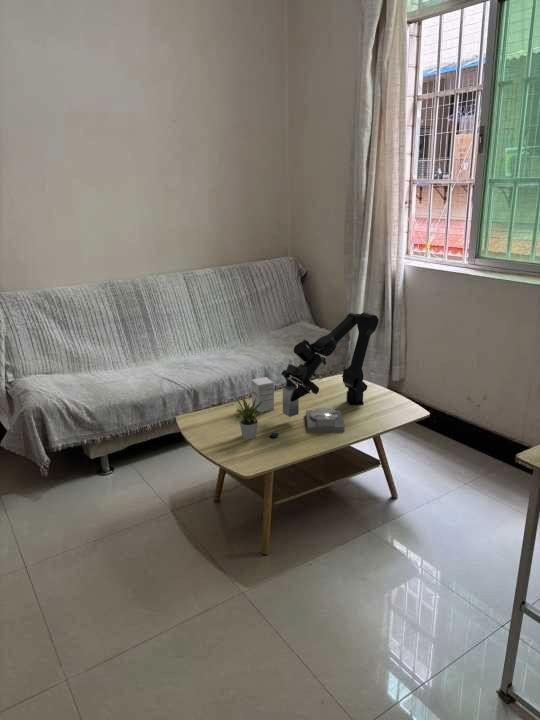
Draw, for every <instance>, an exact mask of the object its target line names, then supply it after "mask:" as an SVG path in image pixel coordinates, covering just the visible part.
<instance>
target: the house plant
mask: <svg viewBox="0 0 540 720" xmlns="http://www.w3.org/2000/svg"><path fill="white" fill-rule="evenodd" d="M232 398H233V399H235V400H236V401H237V403H238V405H237V404H233V403H231V404H230V406H236V407H237V409H236V410H235V412H236V413H238V414H240V415H237V414H235V416H236V417H235V420H238V419H240V420H239V425H240V431H241V435H242V438H243V439H245V440H252V439H255V438H256V437H257V430H258V426H259V425H258V424H259V420H258V419H257V417H258V416H259V415H261V414H262V412H261V411H257V410H256V409H257V408H258V407H259V406H260V404H261V403H262V402H264V401H265V400H264V401H262V402H260V403H259V404H258V405H257V406H256V407H255V408H254V405H255V401H256V398H255V401H254V403H253V406H252V405H251V406H250V404H251V403H247V401H246V400H245V398H244V397H243V396H241V399H242V402H243V406H244V407H243V406H242V404H241V402H240V400H239V399H238V398H236V397H234V396H232ZM250 398H251V399H252V396H250V397H249V400H248V401H251V399H250ZM259 412H260V413H259ZM242 417H243V418H242Z"/></svg>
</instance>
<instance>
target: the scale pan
mask: <svg viewBox="0 0 540 720" xmlns="http://www.w3.org/2000/svg"><path fill="white" fill-rule="evenodd" d="M335 410H336V409H334V408H333V409H332V408H329V407H318V408H314V409H312V411H311V418H312V419H313V420H315V421H317V416H335V420H336V419H337V418H338V412H337V411H335Z"/></svg>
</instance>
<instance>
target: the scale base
mask: <svg viewBox="0 0 540 720" xmlns="http://www.w3.org/2000/svg"><path fill="white" fill-rule="evenodd" d="M312 410H313V409H312ZM312 410H309V409H306V410H305V417H306V425H307V426H306V427H307V433H344V432H345V424H344V420H343V416H342V412H341V410H340V409H337V410H336V409H334V410H335V411H337V412H338V418H337V419H336V420H335V416H317V421H315V420H313V419H312V418H311V411H312Z"/></svg>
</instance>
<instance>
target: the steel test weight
mask: <svg viewBox="0 0 540 720" xmlns="http://www.w3.org/2000/svg"><path fill="white" fill-rule="evenodd" d="M297 388H298V387H297ZM297 388H296V387H294V386H292V385H291V386H287V387H286V386H283V387H282V414H284V415H285V416H287V417H288V418H289V417H290V418H291V417H294V416H298V415H300V414H299V409H300V407H299V405H300V403H299V402H300V401H299V399H300V398H299V399H297V400H295V401H293V402H292V401H291V398H292V397H293V395H294V393H295V392H296V390H297Z"/></svg>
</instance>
